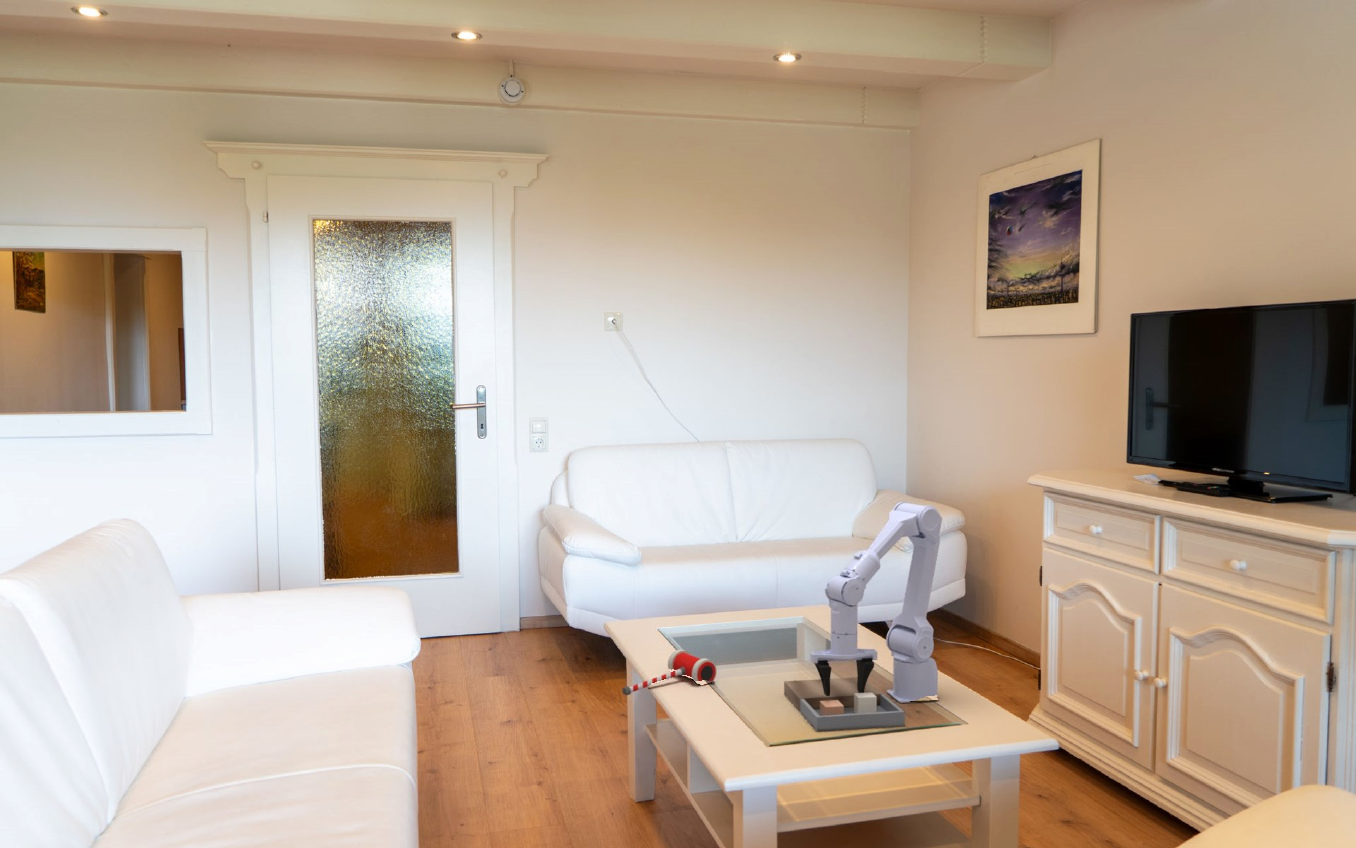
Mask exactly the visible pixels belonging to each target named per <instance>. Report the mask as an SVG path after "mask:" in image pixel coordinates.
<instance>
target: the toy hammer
mask: <svg viewBox="0 0 1356 848" xmlns="http://www.w3.org/2000/svg"><path fill="white" fill-rule="evenodd" d="M667 669H668V670H669V669H671V670H672V669H674V670H676V671H673V672H670V671H669V672H668V673H665V674H663V675H662V674H661V675H659V676H657V677H653V678H652V679H647V680H645V681H643V682H640V683H637V684H634V685H631V686H629V685H628V686H623V687H622V690H621V692H622V694H623V695H624V696H629V695H631V694H632V693H634V692H637V691H640V690H642V689H644V688H648V687H650V685H651V683H655V682H657V681H661V680H664V679H667V680H669V678H670V679H672V677H673V678H675V676H676V677H679V676H678V675H680V676H681V675H687V676H690V677H692V678H693V680H695V681H702V680H707V681H713V682H714V681H715V679H716V677H717V673H718V671H717V665H716V663H715V662H714V661H713V660H711V659H708V658H706V657H705V658H700V657H698V656H693V655H692V654H691V653H690V652H689V651H687V650H684V649H676V650H674V651H673V652H671V654H670V656H669V657H668V661H667ZM693 680H692V681H693ZM651 686H652V685H651Z"/></svg>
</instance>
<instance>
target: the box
mask: <svg viewBox="0 0 1356 848" xmlns="http://www.w3.org/2000/svg"><path fill="white" fill-rule="evenodd" d="M799 713H800V714H801V715H802V716H803V718H804V719H805V720H806V721H807V722H808V724H810V726H811V727H812V728H813V729H814V730H815V732H817V733H820V732H836V731H850V730H866V729H867V730H868V729H878V728H879V729H881V728H882V729H883V728H895V727H896V728H897V727H898V728H899V727H905V725H906V723H905V722H906V720H905V719H906V712H905V711H904V710H903V709H902V708H901V707H899V706H898V705H897V704H896V703H895V702H894V701H892V700H891V699H890V698H889V697H888V696H886V695H885V694H884V693H883V694H880V706H877V712H874V713H858V714H856V713H855V712H854V707H850V708H844V714H842V715H826V716H820V709H817V710H814V709H813V708H812V707H811V706H810V705H809V704H808V703H807V702H806V701H805V700H804V699H800V712H799Z"/></svg>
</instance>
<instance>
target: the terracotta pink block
mask: <svg viewBox="0 0 1356 848" xmlns="http://www.w3.org/2000/svg"><path fill="white" fill-rule="evenodd" d="M842 714H844V706H843V705H842V704H841V703H840V702H839V701H838V700H828V701H820V716H826V715H842Z"/></svg>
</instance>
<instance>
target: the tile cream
mask: <svg viewBox="0 0 1356 848" xmlns="http://www.w3.org/2000/svg"><path fill="white" fill-rule="evenodd" d="M854 712H855V713H856V714H858V713H874V712H877V697H876V696H875V695H874V694H873V693H872V692H870V693H854Z"/></svg>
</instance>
